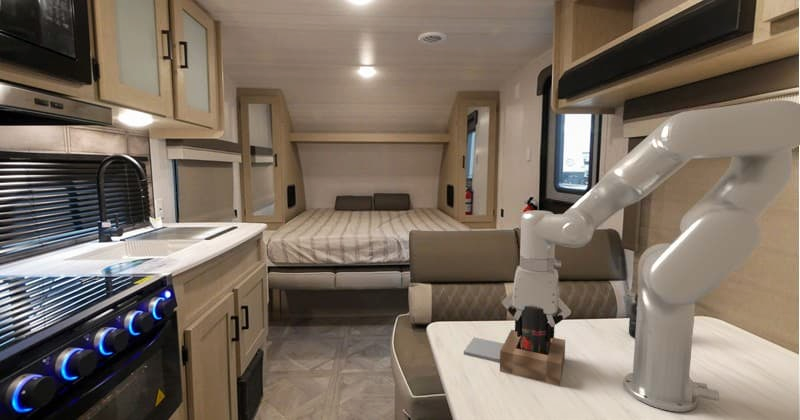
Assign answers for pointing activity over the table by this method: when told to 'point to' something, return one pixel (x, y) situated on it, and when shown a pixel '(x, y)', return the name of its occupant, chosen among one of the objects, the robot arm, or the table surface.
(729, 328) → the table surface
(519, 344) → the socket block
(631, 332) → the supplement bottle
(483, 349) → the rubber mat
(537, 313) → the deodorant
